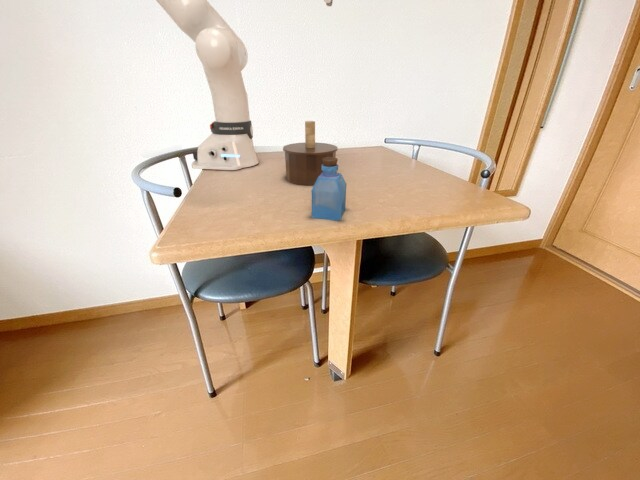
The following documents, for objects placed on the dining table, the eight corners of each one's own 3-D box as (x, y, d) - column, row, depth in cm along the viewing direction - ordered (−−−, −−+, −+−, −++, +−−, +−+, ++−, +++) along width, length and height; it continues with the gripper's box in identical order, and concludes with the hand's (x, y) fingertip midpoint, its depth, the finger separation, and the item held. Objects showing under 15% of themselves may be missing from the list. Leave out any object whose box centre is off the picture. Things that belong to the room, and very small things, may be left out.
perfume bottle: (345, 210, 68) (347, 156, 62) (340, 220, 62) (342, 163, 57) (318, 207, 69) (319, 155, 63) (311, 217, 64) (311, 161, 58)
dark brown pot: (285, 185, 83) (284, 155, 79) (287, 171, 96) (286, 144, 92) (337, 185, 84) (338, 154, 80) (332, 171, 97) (332, 144, 93)
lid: (281, 157, 79) (280, 125, 75) (284, 146, 93) (282, 118, 89) (340, 157, 80) (341, 124, 76) (334, 146, 94) (335, 118, 90)
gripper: (325, -55, 85) (319, 6, 92) (321, -79, 68) (314, -2, 75) (347, -51, 85) (339, 9, 93) (348, -75, 68) (338, 2, 76)
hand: (328, 4), depth 84 cm, fingers open, 8 cm apart
